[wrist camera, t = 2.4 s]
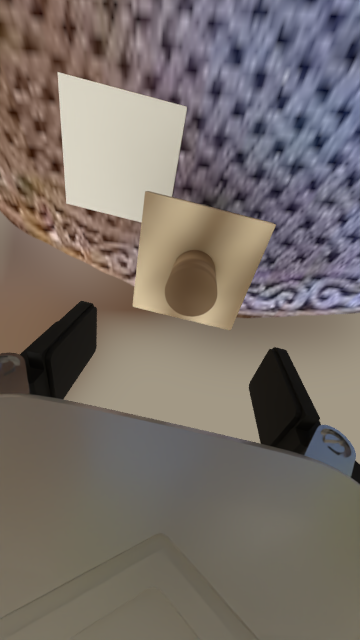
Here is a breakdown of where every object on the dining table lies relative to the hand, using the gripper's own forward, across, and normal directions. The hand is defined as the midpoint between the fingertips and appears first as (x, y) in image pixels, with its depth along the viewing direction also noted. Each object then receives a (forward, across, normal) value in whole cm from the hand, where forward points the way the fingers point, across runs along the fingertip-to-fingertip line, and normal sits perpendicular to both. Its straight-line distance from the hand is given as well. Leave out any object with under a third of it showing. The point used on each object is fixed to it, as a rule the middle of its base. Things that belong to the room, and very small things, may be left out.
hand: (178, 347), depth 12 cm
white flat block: (+32, +15, -8) cm, 36 cm away
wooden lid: (+12, 0, 0) cm, 12 cm away
